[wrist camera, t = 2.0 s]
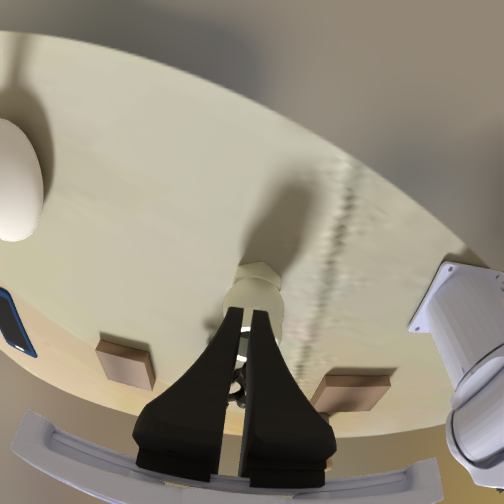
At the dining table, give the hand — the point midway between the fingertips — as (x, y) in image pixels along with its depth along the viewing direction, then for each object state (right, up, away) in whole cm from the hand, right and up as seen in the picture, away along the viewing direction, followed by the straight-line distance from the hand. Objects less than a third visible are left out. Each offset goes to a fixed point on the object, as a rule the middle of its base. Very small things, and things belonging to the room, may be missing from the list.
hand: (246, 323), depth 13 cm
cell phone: (-35, -6, +17) cm, 39 cm away
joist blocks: (-2, -11, +17) cm, 20 cm away
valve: (0, -2, +12) cm, 12 cm away
